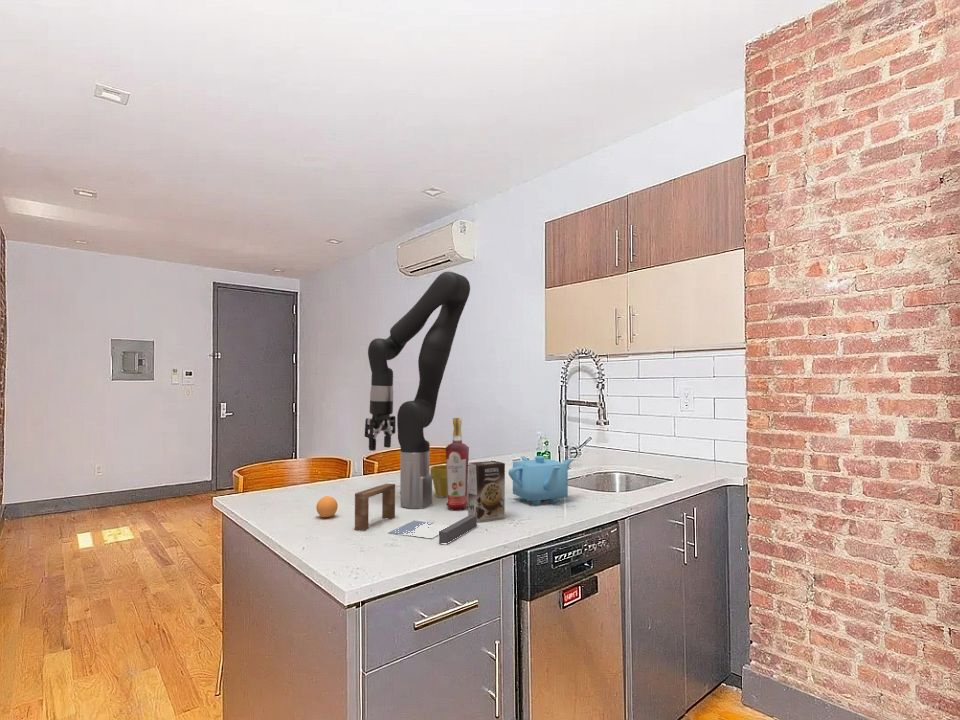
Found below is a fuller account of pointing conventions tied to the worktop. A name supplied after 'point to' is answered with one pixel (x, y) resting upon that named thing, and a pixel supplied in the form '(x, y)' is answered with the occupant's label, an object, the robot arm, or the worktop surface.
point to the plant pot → (439, 480)
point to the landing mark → (408, 527)
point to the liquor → (457, 469)
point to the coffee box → (486, 490)
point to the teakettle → (540, 479)
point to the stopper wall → (457, 529)
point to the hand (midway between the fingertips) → (379, 448)
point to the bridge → (363, 504)
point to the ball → (327, 506)
